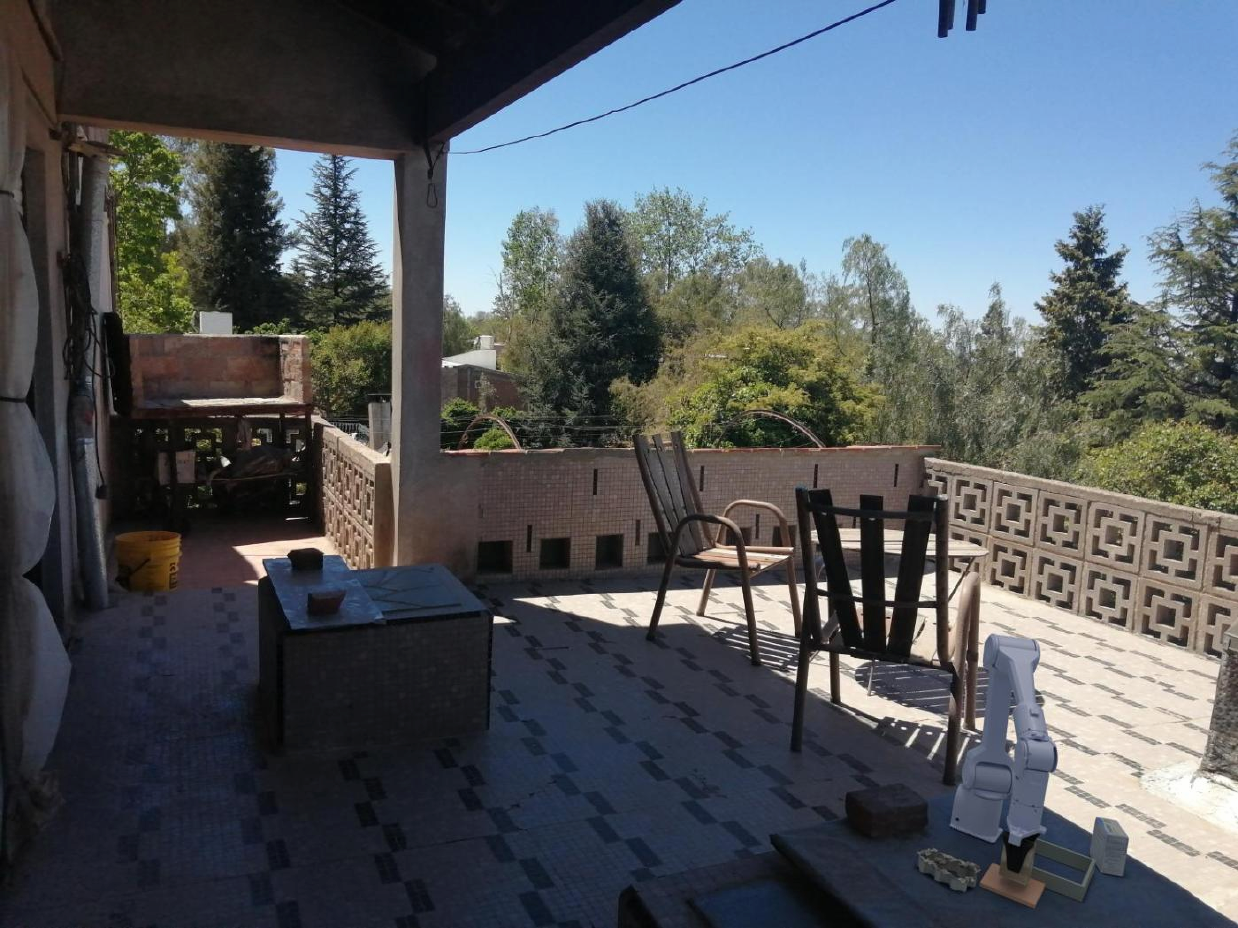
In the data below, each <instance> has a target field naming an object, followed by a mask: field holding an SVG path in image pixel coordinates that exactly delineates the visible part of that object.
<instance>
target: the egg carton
mask: <svg viewBox="0 0 1238 928" xmlns="http://www.w3.org/2000/svg"><path fill="white" fill-rule="evenodd" d="M916 853H917V854H918V855H919V856H918V860H917V861H918V862H917V867H918V868H919V869H918V871H919V872H920V873H922V874H929V875H931V876H933V877H934V878H933V879H934V881H936V882H938V883H945V884H947V883H948V884H947V885H948V886H949V889H950V888H952V889H954V890H961V891H963V892H962V893H966V892H967V890H968V889H967V888H968V887H970V888H972V887H973V888H975V887H976V885H977V878H978V877H977V876H978V875H977V874H978V873H979V872H980V871H981V870H982V868H981V866H980V865H978V864H977V863H973V861H968V860H966V862H965V861H963V860H962V859H958V858H954V857H953V856H952V855H950V854H947V853H943V852H939V850H938V849H936V848H934V847H932V848H930V847H928V848H927V849H923V850H922V849H921V850H920V851H917V852H916ZM949 871H950V872H949ZM951 871H952V872H953V873H956V876H958V877H956V876H954V875H953V874H952V873H951ZM952 889H951V890H952ZM961 891H960V892H961ZM965 891H966V892H965Z"/></svg>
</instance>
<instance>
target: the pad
mask: <svg viewBox="0 0 1238 928" xmlns="http://www.w3.org/2000/svg"><path fill="white" fill-rule="evenodd" d="M999 869H1000V864H996V863H991V864H990V866H989V867H988V869H987V870H986V872H985V874H984V876H983V877H982V878H981V879H980V882H979V887H981V888H983V889H985V890H988V891H991V892H993V893H995V894H998V895H1000V896H1002V897H1004V898H1007V899H1010V900H1012V901H1013V902H1014V901H1015V902H1017V903H1019V904H1021V905H1024V906H1027V907H1028V908H1032V909H1036V906H1037V904H1038V902H1039V901H1040V899H1041V896H1042V894H1043V892H1044V890H1045V889H1046V888H1045V885H1046V884H1045V883H1042V882H1040V881H1037V880H1035V879H1032V878H1030V879H1029V881H1028V883H1027V884H1026V886H1025V885H1023V884H1020V883H1018V882H1015V881H1013V880H1010V879H1008V878H1005V877H1003V876H1000V875H999Z"/></svg>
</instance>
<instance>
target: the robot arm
mask: <svg viewBox="0 0 1238 928" xmlns="http://www.w3.org/2000/svg"><path fill="white" fill-rule="evenodd" d="M1040 659H1041V647H1040V644H1039V642H1038V641H1037V640H1036V639H1034V638H1024V637H1023V638H1021V637H1018V636H1017V637H1015V636H1010V635H1009V636H1007V635H1000V634H996V633H990V634H989V635H988V637H987V638H986V640H985V641H984V647H983V654H982V668H983V669H985V670H987V671H988V682H987V691H986V702H985V709H984V716H983V717H984V718H983V725H982V727H983V728H982V735H981V736H982V737H981V743H980V744H979V745H978V746H975V747H974V748H971V749H970V750H968V751H966V755H965V760H964V762H963V765H962V770H961V777H962V783H960V784H958V787H957V789H956V792H955V794H954V795H955V796H954V799H953V805H952V812H951V817H950V823H949V827H950V826H951V827H953V828H952V829H954V828H955V829H954V830H956V829H957V831H958V832H959V831H960V832H962V833H963V834H967V835H969V834H970V836H971V837H972V836H973V837H975V838H978V839H981V840H983V841H985V842H988V843H991V844H995V843H996V842H997V840H998V839H999V838H1000V836H1001V839H1002V842H1003V845H1004V844H1005V848H1006V858H1007V869H1008V870H1010V871H1012V872H1015V873H1017V874H1019V872H1020V870H1021V868H1022V866H1023V863H1024V860H1025V857H1026V855H1027V853H1028V852H1029V851H1030V850H1031V849H1032V847H1033V846H1034V844H1035V843H1034V841H1035V840H1036V839H1037V838H1038V839H1039V837H1040V835H1041V834H1042V835H1045V834H1046V833H1047V830H1048V829H1047V827H1045V826H1043V825H1041V823H1042V817H1043V811H1044V806H1045V801H1046V795H1047V789H1048V783H1049V779H1050V773H1055V771H1056V770H1057V767H1058V764H1059V763H1058V762H1059V752H1058V747H1057V744H1056V742H1054V741H1053V737H1052V736H1049V734H1048V727H1047V722H1046V717H1045V713H1044V709H1043V708H1042V707H1041V706H1040V705H1039V704H1037V701H1036V689H1035V687H1036V686H1035V678H1034V673H1035V672H1036V671H1037V669H1038V665H1039V663H1040ZM1012 693H1013V696H1014V700H1015V703H1016V706H1015V707H1014V708H1013V710H1012V718H1013V719H1012V720H1013V724H1014V729H1015V730H1014V731H1015V736H1016V743H1015V746H1014V748H1013V749H1014V750H1013V751H1014V753H1013V756H1014V757H1012V756H1010V754H1009V753H1008V752H1007V751H1006V743H1007V735H1008V729H1009V728H1008V726H1009V717H1010V711H1011V701H1012ZM1010 795H1011V798H1010V799H1011V800H1010V805H1009V811H1008V815H1007V816H1006V819H1005V821H1006V824H1007V827H1008V830H1009V831H1007V830H1004V829H1002V828H1001V827H999V826H1000V820H1001V815H1002V811H1003V810H1002V808H1003V803H1004V800H1007V799H1008V798H1007V797H1008V796H1010ZM951 827H950V828H951ZM1027 840H1028V841H1027ZM1030 841H1031V842H1030ZM1032 842H1033V843H1032Z"/></svg>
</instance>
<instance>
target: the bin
mask: <svg viewBox="0 0 1238 928" xmlns="http://www.w3.org/2000/svg"><path fill="white" fill-rule="evenodd" d="M1034 843H1036V849H1035V854H1037V855H1039V856H1042V857H1045V858H1048V859H1050V860H1053V861H1055V862H1058V863H1061V864H1063V865H1067V866H1069V867H1072V868H1074V869H1077V870H1080V871H1082V872H1085V876H1084V878H1083V880H1082V883H1081V884H1080V883H1079V882H1075V881H1072V880H1069V879H1067V878H1064V877H1062V876H1059V875H1056V874H1054V873H1052V872H1049V871H1046V870H1044V869H1041V868H1038V867H1035V866H1032V872H1031V877H1030V878H1032V879H1035V880H1037V881H1040V882H1042V883H1045V884H1046V885H1045V889H1047V890H1050V891H1053V892H1055V893H1058V894H1060V895H1063V896H1065V897H1068V898H1070V899H1072V900H1076V901H1078V902H1080V903H1082V902H1083V900H1084V898H1085V895H1086V893H1087V891H1088V888H1089V886H1090V882H1091V880H1092V878H1093V876H1094V871H1095V866H1096V864H1095V862H1096V860H1095V859H1093V858H1092V857H1091V856H1090V857H1089V856H1086V855H1084V854H1082V853H1079V852H1076V851H1073V850H1070V849H1068V848H1065V847H1062V846H1059V845H1057V844H1054V843H1052V842H1049V841H1046V840H1043V839H1041V838H1039V837H1038V838H1037V839H1036V840H1035V841H1034Z"/></svg>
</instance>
